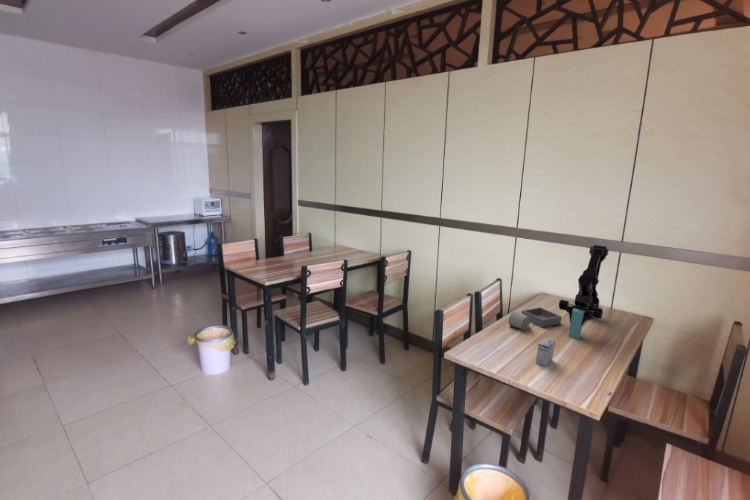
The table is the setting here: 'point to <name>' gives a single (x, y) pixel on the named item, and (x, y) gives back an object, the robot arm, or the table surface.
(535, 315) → the box
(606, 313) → the table surface
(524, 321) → the ceramic mug
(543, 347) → the medicine box
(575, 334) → the handle block
